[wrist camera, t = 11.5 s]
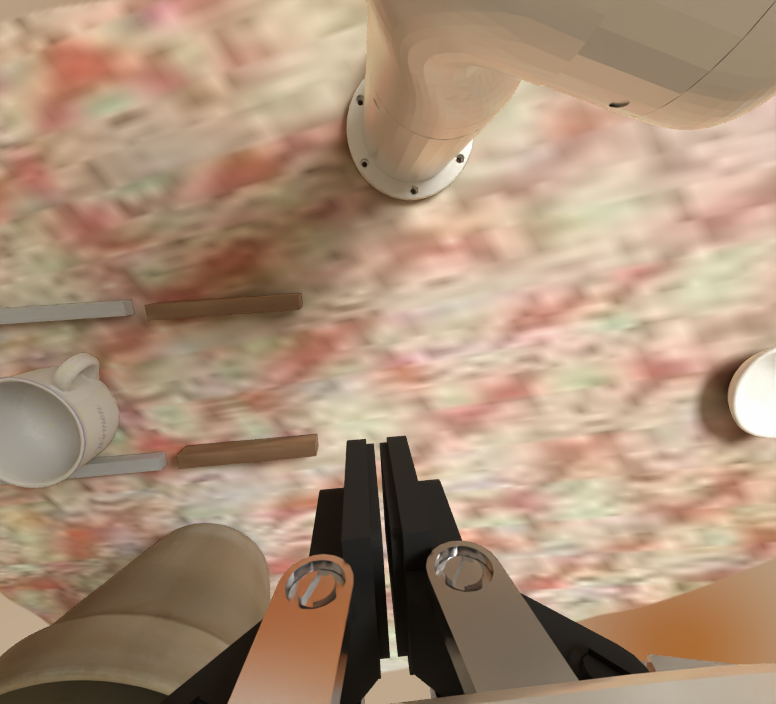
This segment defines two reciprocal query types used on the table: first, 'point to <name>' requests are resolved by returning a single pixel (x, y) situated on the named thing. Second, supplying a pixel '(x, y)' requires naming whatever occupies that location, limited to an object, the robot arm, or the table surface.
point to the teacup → (54, 421)
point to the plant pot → (145, 624)
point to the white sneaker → (755, 394)
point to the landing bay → (83, 312)
